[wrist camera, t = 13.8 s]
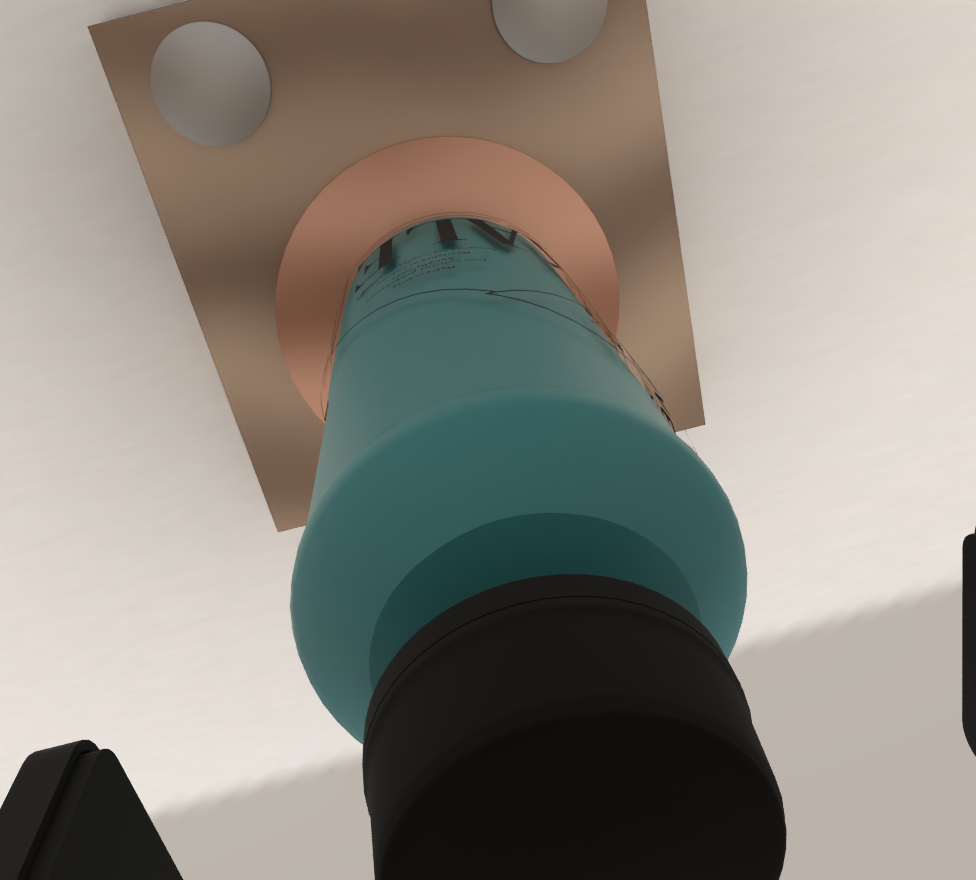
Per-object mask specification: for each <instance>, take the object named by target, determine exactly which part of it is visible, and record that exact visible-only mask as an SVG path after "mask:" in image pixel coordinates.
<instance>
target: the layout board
mask: <svg viewBox="0 0 976 880" xmlns="http://www.w3.org/2000/svg"><path fill="white" fill-rule="evenodd" d="M88 29H89V31H90V34H91V37H92V39H93V42H94V45H95V47H96V50H97V53H98V55H99V58H100V61H101V63H102V66H103V69H104V71H105V74H106V77H107V79H108V82H109V85H110V87H111V90H112V93H113V95H114V98H115V100H116V103H117V106H118V108H119V111H120V114H121V116H122V119H123V122H124V124H125V127H126V130H127V132H128V135H129V138H130V140H131V143H132V146H133V148H134V151H135V154H136V156H137V159H138V162H139V164H140V167H141V170H142V172H143V175H144V178H145V180H146V183H147V185H148V188H149V191H150V193H151V196H152V199H153V201H154V204H155V207H156V209H157V212H158V215H159V217H160V220H161V223H162V225H163V228H164V231H165V233H166V236H167V239H168V241H169V244H170V247H171V249H172V252H173V255H174V257H175V260H176V263H177V265H178V268H179V270H180V273H181V276H182V278H183V281H184V284H185V286H186V289H187V292H188V294H189V297H190V300H191V302H192V305H193V308H194V310H195V313H196V316H197V318H198V321H199V324H200V326H201V329H202V332H203V334H204V337H205V340H206V342H207V345H208V348H209V350H210V353H211V355H212V358H213V361H214V363H215V366H216V369H217V371H218V374H219V377H220V379H221V382H222V385H223V387H224V390H225V393H226V395H227V398H228V401H229V403H230V406H231V409H232V411H233V414H234V417H235V419H236V422H237V425H238V427H239V430H240V432H241V435H242V438H243V440H244V443H245V446H246V448H247V451H248V454H249V456H250V459H251V462H252V464H253V467H254V470H255V472H256V475H257V478H258V480H259V483H260V486H261V488H262V491H263V494H264V496H265V499H266V502H267V504H268V507H269V510H270V512H271V515H272V517H273V520H274V523H275V525H276V528H277V531H278V532H281V531H285V530H289V529H293V528H297V527H301V526H305V525H307V521H308V516H309V510H310V505H311V499H312V494H313V488H314V483H315V477H316V472H317V466H318V461H319V455H320V450H321V444H322V439H323V433H324V428H325V422H326V421H325V420H324V418H325V414H326V408H327V402H328V393H329V386H330V379H331V373H332V368H333V363H334V358H335V354H334V352H333V353H332V348H333V351H335V353H336V348H337V347H336V343H338V339H339V334H340V329H341V323H342V318H343V313H344V308H345V304H346V299H347V296H348V293H349V291H350V288H351V285H352V283H353V281H354V279H355V277H356V275H357V273H358V268H359V266H360V265H361V264H362V263H363V262H364V261H365V260H367V259H368V258H367V257H368V256H369V255H370V254H371V253H372V252H374V251H375V250H376V249H377V248H378V247H379V246H380V245H382V244H383V243H384V242H385V241H386V240H388V239H389V238H391V237H392V236H394V235H395V234H397V233H398V232H400V231H402V230H404V229H406V228H408V227H410V226H412V225H415V224H418V221H419V223H421V222H424V219H425V221H427V220H429V218H430V220H432V219H433V217H434V219H437V218H438V217H437V216H439V218H442V215H443V217H444V215H445V217H447V216H446V215H448V217H456V215H455V214H457V216H458V214H459V216H458V217H473V218H478V219H483V220H487V221H490V222H493V223H496V224H499V225H502V226H504V227H505V226H506V228H508V227H509V228H508V229H510V228H511V229H513V230H515V231H517V232H520V233H517V234H519V235H521V236H522V237H524V238H525V239H527V240H528V241H529V242H530V243H532V244H533V245H534V246H535V247H536V248H537V249H538V250H539V251H540V252H541V253H542V254H543V255H544V256H545V257H546V258H547V260H548V261H549V262H550V263H552V264H555V263H554V262H553V261H552V260H551V259H550V258H549V257H548V256H547V255H546V254H545V253H544V252H543V251H542V250H541V249H540V248H539V247H538V246H536V245H535V244H534V243H533V242H532V241H531V240H529V239H528V238H530V239H532V238H533V239H532V240H533V241H535V242H536V243H538V244H539V245H540V247H541V248H542V249H543V250H544V251H545V252H546V253H547V254H548V255H549V256H550V257H551V258H552V259H553V260H554V261H555V262H556V261H557V262H558V263H557V262H556V263H557V264H558V265H559V266H561V267H562V268H561V269H562V270H564V271H565V272H566V274H565V272H564V271H562V270H561V269H559V268H557V267H554V266H553V265H552V266H553V268H554V269H555V270H556V272H557V273H558V274H559V276H560V277H561V278H562V280H563V281H564V282H565V284H566V285H567V286H568V288H569V289H570V288H571V289H570V290H571V291H572V293H573V292H574V293H573V294H574V295H575V297H576V298H577V300H578V301H579V302H580V304H581V305H582V306H584V307H589V309H590V312H591V311H592V312H593V313H594V314H593V313H592V312H591V314H592V315H594V316H595V317H594V316H593V317H594V318H595V319H596V320H597V322H599V323H600V324H599V323H598V324H599V325H600V326H599V325H598V324H597V323H596V322H595V321H596V320H595V319H594V318H593V317H592V316H591V315H589V316H591V318H592V320H593V319H594V320H593V321H594V322H595V324H596V325H598V328H599V329H600V330H601V332H602V333H603V334H604V336H605V335H606V336H605V337H606V338H607V340H608V341H609V342H611V340H612V339H613V340H614V342H615V343H616V342H617V341H618V340H619V341H618V342H620V343H619V344H620V346H621V347H622V349H623V351H624V352H623V354H624V355H625V356H626V357H627V358H628V359H629V360H630V361H631V362H632V363H633V361H632V360H633V359H634V361H635V362H636V363H637V364H638V365H639V367H638V365H637V364H636V363H635V362H634V363H633V364H636V365H635V366H636V367H635V366H634V365H633V364H632V363H631V362H630V361H629V360H628V359H627V358H626V357H625V356H624V355H623V354H622V351H621V350H620V349H619V347H618V346H617V345H618V344H617V343H618V342H617V343H616V344H617V345H616V347H615V344H614V342H613V341H612V342H611V345H612V344H614V345H612V346H614V347H615V348H617V349H618V350H619V351H620V352H621V353H620V352H619V351H618V350H617V351H618V353H619V356H620V357H621V358H622V360H623V361H624V362H625V364H626V363H627V364H626V365H628V368H629V369H630V370H631V372H632V373H633V374H634V376H635V377H636V378H637V380H638V381H639V382H640V384H641V385H642V386H643V388H644V389H645V390H647V387H648V388H649V387H650V388H651V389H650V388H649V389H648V390H647V393H648V392H649V393H648V394H649V395H650V396H653V398H654V399H652V400H653V401H654V402H655V404H656V405H657V404H658V406H657V407H659V410H660V411H661V408H660V406H661V407H662V408H663V409H664V411H665V413H666V414H667V415H668V416H669V415H670V416H669V418H670V419H671V421H672V424H673V426H674V430H675V432H678V431H682V430H684V429H685V430H686V429H690V428H693V427H697V426H701V425H705V418H704V411H703V404H702V397H701V389H700V382H699V375H698V368H697V361H696V354H695V347H694V340H693V332H692V325H691V318H690V311H689V304H688V297H687V290H686V283H685V275H684V268H683V261H682V254H681V247H680V240H679V233H678V226H677V218H676V211H675V204H674V197H673V190H672V183H671V176H670V169H669V161H668V154H667V147H666V140H665V133H664V126H663V119H662V112H661V104H660V97H659V90H658V83H657V76H656V69H655V62H654V55H653V47H652V40H651V33H650V26H649V19H648V12H647V5H646V0H190V1H186V2H183V3H179V4H175V5H171V6H167V7H163V8H159V9H155V10H151V11H147V12H143V13H139V14H135V15H131V16H127V17H123V18H119V19H115V20H111V21H107V22H103V23H99V24H95V25H91V26H88ZM450 212H455V213H450ZM460 212H468V213H460ZM440 213H442V214H440ZM475 213H477V214H475ZM435 214H437V215H435ZM460 214H461V215H462V216H460ZM480 214H482V215H480ZM430 215H432V216H430ZM449 215H450V216H449ZM451 215H452V216H451ZM463 215H464V216H463ZM465 215H466V216H465ZM467 215H468V216H467ZM469 215H470V216H469ZM472 215H473V216H472ZM474 215H475V217H474ZM485 215H487V216H485ZM425 216H427V217H425ZM440 216H441V217H440ZM476 216H477V217H476ZM478 216H479V217H478ZM480 216H481V217H482V218H481V217H480ZM490 216H491V217H490ZM422 217H424V218H422ZM435 217H436V218H435ZM483 217H484V218H483ZM485 217H486V219H485ZM493 217H494V218H493ZM419 218H421V219H419ZM431 218H432V219H431ZM487 218H488V219H487ZM489 218H490V219H491V220H490V219H489ZM496 218H497V219H496ZM416 219H418V220H416ZM426 219H427V220H426ZM492 219H493V220H492ZM499 219H500V220H499ZM413 220H415V221H413ZM422 220H423V221H422ZM494 220H495V221H494ZM496 220H497V221H496ZM502 220H503V221H502ZM410 221H412V222H410ZM420 221H421V222H420ZM498 221H499V222H498ZM408 222H409V223H408ZM507 222H508V223H507ZM406 223H407V224H406ZM413 223H414V224H413ZM509 223H510V224H509ZM404 224H405V225H404ZM409 224H410V226H409ZM411 224H412V225H411ZM507 224H508V225H510V226H511V227H510V226H508V225H507ZM511 224H512V225H511ZM402 225H403V226H402ZM407 225H408V227H407ZM513 225H514V226H513ZM400 226H401V227H400ZM405 226H406V228H405ZM515 226H516V227H515ZM398 227H399V228H398ZM403 227H404V229H403ZM396 228H397V229H396ZM401 228H402V230H401ZM515 228H517V229H515ZM519 228H520V229H519ZM394 229H395V230H394ZM399 229H400V231H399ZM511 229H510V230H511ZM518 229H519V230H520V231H519V230H518ZM393 230H394V231H393ZM397 230H398V232H397ZM391 231H392V232H391ZM395 231H396V233H395ZM524 231H525V232H524ZM523 232H524V233H525V234H524V233H523ZM388 233H389V234H388ZM393 233H394V234H393ZM521 233H522V234H521ZM527 233H528V234H527ZM391 234H392V235H391ZM523 234H524V235H525V236H524V235H523ZM526 234H527V235H526ZM385 235H386V236H385ZM389 235H390V237H389ZM526 236H527V237H528V238H527V237H526ZM529 236H530V237H529ZM382 237H383V238H382ZM387 237H388V238H387ZM381 238H382V239H381ZM385 238H386V239H385ZM534 238H535V239H534ZM383 239H384V241H383ZM376 242H377V243H376ZM380 242H381V243H380ZM375 243H376V244H375ZM378 243H379V245H378ZM540 243H541V244H540ZM374 244H375V245H374ZM373 245H374V246H373ZM373 248H374V249H373ZM371 249H372V251H370V250H371ZM547 250H548V251H547ZM366 252H367V253H366ZM368 252H369V254H368ZM365 253H366V254H365ZM364 254H365V255H364ZM363 255H364V256H363ZM365 256H366V257H365ZM552 256H553V257H552ZM366 258H367V259H366ZM362 259H363V260H362ZM359 260H360V261H359ZM359 262H360V264H359ZM357 263H358V264H357ZM363 264H364V263H363ZM555 265H556V264H555ZM355 266H356V267H355ZM559 270H560V271H561V272H560V271H559ZM563 272H564V273H563ZM564 274H565V275H564ZM567 275H568V276H569V277H570V278H569V277H568V276H567ZM565 276H567V277H565ZM348 278H349V279H348ZM566 278H568V279H566ZM570 279H571V280H572V281H573V283H572V281H571V280H570ZM347 280H348V283H347ZM567 280H568V281H569V282H570V283H571V284H570V283H568V281H567ZM345 284H347V287H346V285H345ZM574 284H575V285H576V286H577V287H576V286H575V285H574ZM569 285H570V286H569ZM344 286H345V287H344ZM571 286H572V287H571ZM573 287H574V288H575V289H574V288H573ZM576 288H578V289H579V290H580V291H581V292H580V291H579V292H578V291H577V289H576ZM343 289H344V290H343ZM345 289H346V292H345ZM342 292H343V293H342ZM344 293H345V297H344ZM581 293H582V294H583V295H584V296H582V294H581ZM579 294H580V296H579ZM581 297H582V298H581ZM341 298H342V299H341ZM343 298H344V301H343ZM581 300H582V301H581ZM587 300H588V301H587ZM340 301H341V302H340ZM584 301H585V303H586V305H585V303H584ZM342 302H343V306H340V305H342ZM590 304H591V305H590ZM340 307H342V310H341V308H340ZM584 307H583V308H584ZM339 309H340V310H339ZM584 309H585V308H584ZM594 309H595V310H594ZM337 310H338V311H339V312H338V311H337ZM585 310H588V309H585ZM588 311H589V310H588ZM337 312H338V313H337ZM340 312H341V315H340ZM590 312H588V313H590ZM596 312H597V314H596ZM337 314H338V316H336V315H337ZM596 315H597V316H598V315H599V316H598V317H597V316H596ZM339 316H340V319H339ZM336 317H337V319H336ZM599 318H600V319H599ZM335 319H336V325H334V324H335ZM599 320H600V321H603V322H602V323H601V322H600V321H599ZM338 321H339V324H338ZM603 323H605V324H603ZM602 324H603V325H604V326H605V325H606V328H608V327H609V328H610V329H609V328H608V329H609V330H610V333H609V332H608V331H607V329H606V328H605V327H604V326H602ZM337 325H338V329H337ZM334 326H335V329H334ZM604 328H605V329H606V331H607V332H608V333H609V334H608V335H610V334H611V335H610V337H612V339H611V338H610V337H608V336H607V334H606V333H607V332H606V331H605V330H603V329H604ZM336 330H337V333H336ZM604 332H606V333H604ZM611 332H613V334H612V333H611ZM333 333H334V335H333ZM335 334H336V338H335ZM332 335H333V336H332ZM614 335H615V337H616V338H617V339H616V340H617V341H616V340H615V338H614ZM332 337H333V339H332ZM334 339H335V342H334ZM332 340H333V341H332ZM330 341H331V342H330ZM332 343H334V347H333V346H332V348H331V344H332ZM621 344H622V345H621ZM335 347H336V348H335ZM614 347H613V348H614ZM623 347H624V348H623ZM615 348H614V349H615ZM334 349H335V350H334ZM625 349H626V350H627V352H628V353H629V354H630V355H631V358H630V356H629V354H628V353H627V352H626V350H625ZM615 350H616V349H615ZM617 351H616V352H617ZM328 352H329V353H328ZM330 353H332V355H331V354H330ZM327 355H328V356H327ZM330 356H331V357H332V361H331V357H330ZM624 357H625V359H624ZM329 358H330V359H329ZM632 358H633V359H632ZM326 359H328V360H329V361H328V363H327V360H326ZM625 360H626V361H625ZM330 361H331V363H330ZM327 364H329V365H328V366H329V367H328V366H326V365H327ZM325 367H326V370H325ZM637 367H638V368H637ZM327 368H328V369H327ZM636 368H637V369H636ZM641 369H642V370H641ZM324 370H325V372H324ZM637 370H638V371H637ZM639 370H641V371H643V372H644V373H645V374H646V375H644V374H643V373H642V372H641V371H639ZM638 372H639V373H640V372H641V373H642V374H641V373H640V374H639V373H638ZM323 374H324V375H323ZM640 375H641V376H640ZM642 375H643V376H642ZM323 376H324V377H323ZM646 376H647V378H649V380H650V381H651V382H652V383H651V382H649V381H648V379H647V378H646ZM641 377H642V378H641ZM643 377H644V378H645V379H644V378H643ZM642 379H643V380H642ZM645 380H646V381H645ZM643 381H644V382H643ZM646 382H647V383H648V384H647V383H646ZM644 383H646V384H645V385H644ZM651 384H652V385H654V386H655V387H656V388H655V387H654V386H652V385H651ZM646 385H647V387H646ZM648 385H649V386H648ZM645 387H646V388H645ZM323 388H324V390H323ZM654 388H655V389H656V390H657V391H656V390H655V389H654ZM649 390H650V391H649ZM651 390H652V391H651ZM653 390H654V391H655V392H656V393H657V392H658V391H659V392H660V393H661V394H660V393H659V392H658V393H659V394H658V393H657V394H658V395H659V396H660V397H661V398H662V399H663V402H664V403H663V402H662V401H661V400H660V401H661V402H662V404H663V405H664V407H665V408H666V410H667V411H668V413H669V414H668V413H667V411H666V410H665V408H664V407H663V405H662V404H661V402H660V401H659V399H658V398H657V396H656V395H655V393H654V391H653ZM650 392H651V393H650ZM652 392H653V393H654V394H653V393H652ZM651 394H652V395H651ZM654 395H655V396H654ZM655 398H656V399H655ZM656 401H657V403H656ZM668 404H669V405H668ZM321 405H322V407H321ZM670 407H671V408H670ZM322 410H323V412H322ZM672 410H673V411H672ZM327 411H328V409H327ZM661 413H662V412H661ZM674 413H675V414H674ZM323 414H324V417H323ZM663 415H664V417H665V419H666V420H667V417H666V415H665V414H664V412H663ZM676 416H677V417H676ZM326 417H327V416H326ZM678 419H679V420H678ZM667 422H668V420H667ZM680 422H681V423H680ZM669 423H670V426H671V427H672V424H671V422H670V420H669ZM682 425H683V426H682ZM683 427H684V428H683ZM672 429H673V427H672Z"/></svg>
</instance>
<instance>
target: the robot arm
mask: <svg viewBox="0 0 976 880" xmlns="http://www.w3.org/2000/svg"><path fill="white" fill-rule="evenodd" d="M962 595H963V597H962V598H963V603H962V605H963V606H962V608H963V609H962V610H963V614H962V616H963V618H962V626H963V627H962V643H963V644H962V645H963V646H962V681H963V682H962V696H963V697H962V722H963V729H964V732H965V736H966V739H967V741H968V744H969V746H970V748H971V749H972V751H973V753H974V755H975V756H976V528H975V533H974V534H970V535H968V536H966V537H965V539H964V541H963V593H962ZM0 880H183V878H182V876H181V875H180V873H179V871H178V869H177V867H176V865H175V864H174V862H173V860H172V858H171V856H170V854H169V852H168V851H167V849H166V847H165V845H164V843H163V842H162V840H161V838H160V836H159V834H158V832H157V830H156V828H155V827H154V825H153V823H152V821H151V819H150V817H149V816H148V814H147V812H146V810H145V808H144V806H143V804H142V803H141V801H140V799H139V797H138V795H137V793H136V792H135V790H134V788H133V786H132V784H131V782H130V780H129V779H128V777H127V775H126V773H125V771H124V769H123V768H122V766H121V764H120V762H119V760H118V758H117V757H116V755H115V754H114V753H113V752H112V751H111V750H109V749H102V750H99V749H98V747H97V746H96V744H94V743H93V742H91V741H90V740H80V741H76V742H72V743H68V744H64V745H60V746H56V747H52V748H48V749H44V750H40V751H36V752H34V753H32V754H30V755H29V756H28V757H27V758H26V760H25V761H24V763H23V764H22V766H21V768H20V770H19V772H18V774H17V776H16V778H15V780H14V782H13V784H12V786H11V788H10V790H9V792H8V794H7V796H6V798H5V800H4V802H3V804H2V807H1V809H0Z"/></svg>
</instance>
